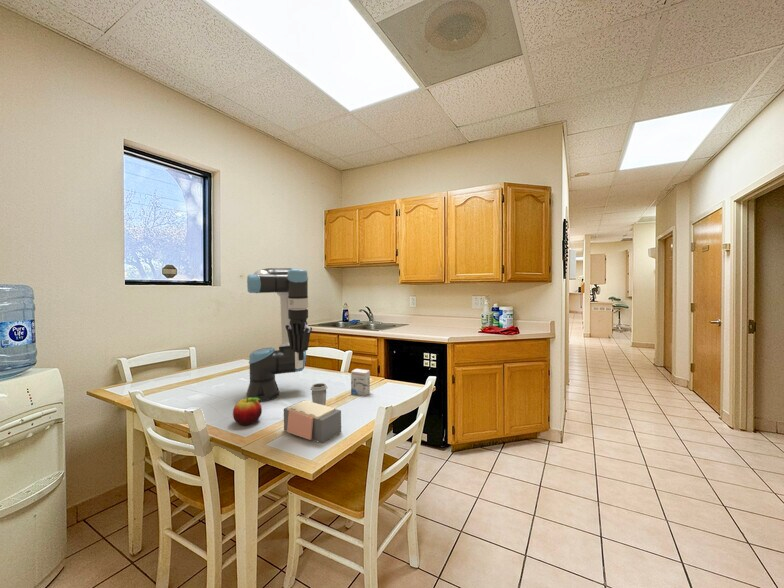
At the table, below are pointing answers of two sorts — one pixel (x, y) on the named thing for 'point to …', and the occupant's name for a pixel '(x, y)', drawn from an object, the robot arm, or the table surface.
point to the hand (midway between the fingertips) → (299, 367)
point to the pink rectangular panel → (300, 425)
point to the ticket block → (317, 419)
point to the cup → (319, 393)
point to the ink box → (360, 382)
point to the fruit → (247, 411)
